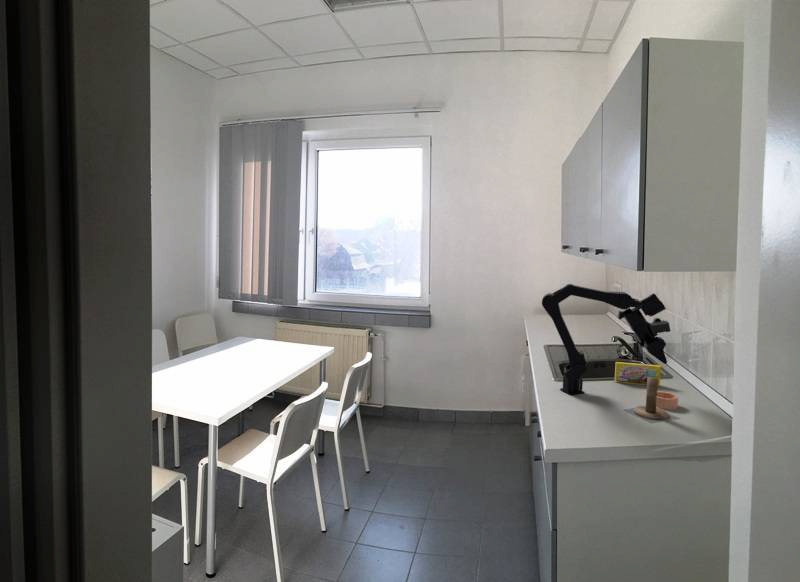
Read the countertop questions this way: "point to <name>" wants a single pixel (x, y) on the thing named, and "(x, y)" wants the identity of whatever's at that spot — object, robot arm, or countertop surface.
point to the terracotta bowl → (666, 400)
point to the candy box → (636, 373)
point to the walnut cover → (651, 403)
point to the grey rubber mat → (670, 417)
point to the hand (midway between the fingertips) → (661, 359)
